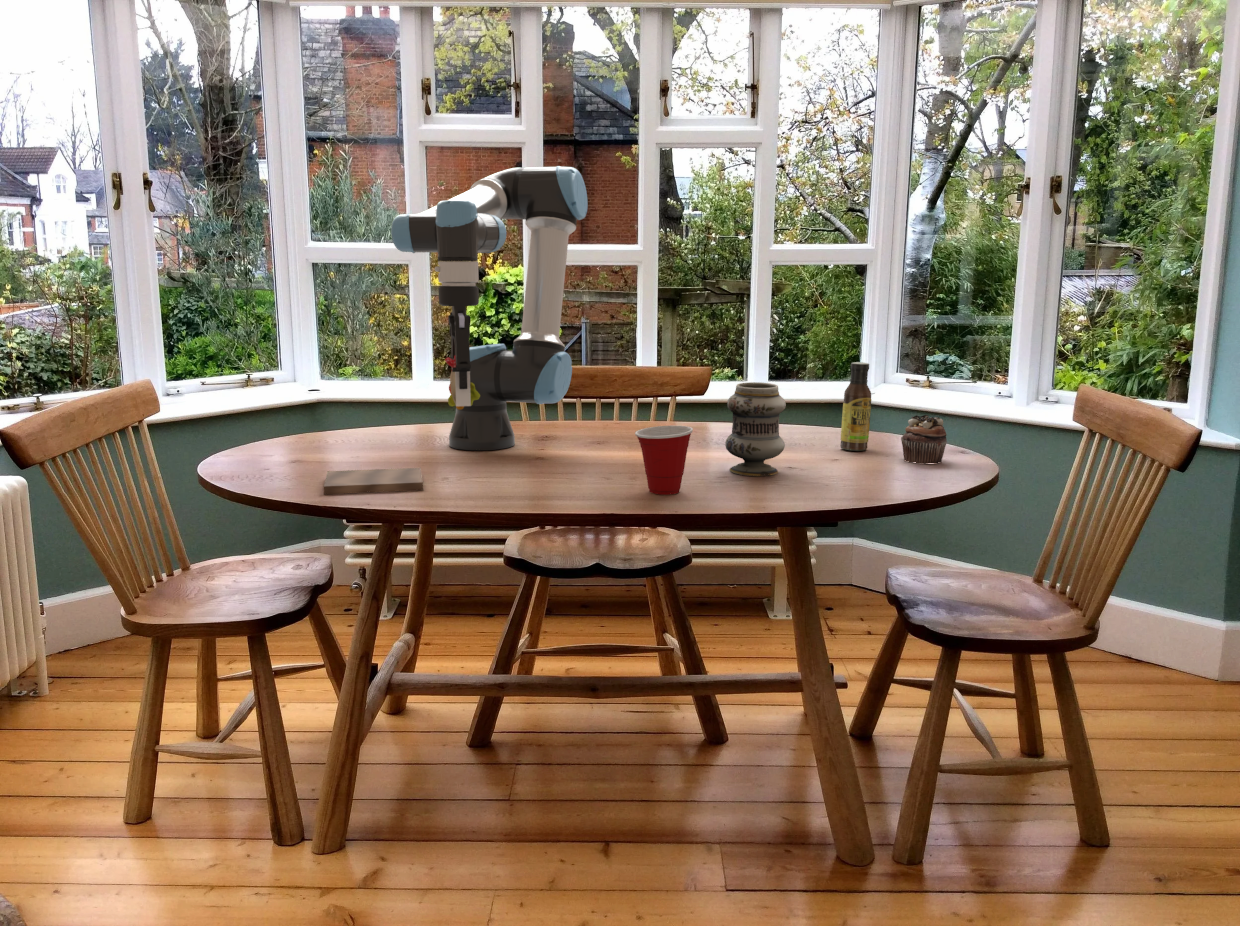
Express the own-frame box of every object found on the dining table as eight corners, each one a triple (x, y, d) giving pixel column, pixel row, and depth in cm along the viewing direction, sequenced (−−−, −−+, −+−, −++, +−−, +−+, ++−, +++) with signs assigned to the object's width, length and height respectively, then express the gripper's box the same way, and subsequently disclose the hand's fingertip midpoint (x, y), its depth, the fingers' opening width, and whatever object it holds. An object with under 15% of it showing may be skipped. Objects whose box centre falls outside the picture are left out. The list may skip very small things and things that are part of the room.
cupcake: (953, 460, 226) (956, 415, 224) (932, 467, 219) (935, 420, 217) (913, 454, 233) (915, 410, 231) (891, 460, 226) (894, 415, 224)
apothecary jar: (746, 480, 206) (748, 389, 202) (713, 469, 216) (715, 382, 213) (795, 474, 211) (799, 386, 208) (761, 463, 222) (763, 379, 218)
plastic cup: (630, 486, 200) (630, 424, 198) (685, 484, 201) (687, 423, 199) (638, 498, 189) (639, 433, 187) (697, 497, 191) (698, 432, 188)
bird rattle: (477, 420, 199) (481, 395, 207) (472, 369, 193) (477, 346, 200) (444, 420, 199) (450, 395, 207) (438, 369, 193) (444, 346, 200)
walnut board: (420, 474, 209) (420, 467, 209) (423, 490, 196) (422, 482, 195) (327, 478, 205) (327, 471, 205) (323, 494, 192) (323, 486, 191)
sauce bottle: (850, 452, 234) (855, 364, 230) (834, 448, 240) (838, 362, 236) (874, 451, 237) (878, 363, 233) (857, 446, 242) (862, 361, 239)
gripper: (435, 283, 206) (439, 395, 211) (441, 286, 185) (445, 411, 190) (473, 282, 208) (476, 394, 212) (483, 286, 187) (486, 410, 191)
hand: (461, 402), depth 201 cm, fingers closed on bird rattle, 9 cm apart
